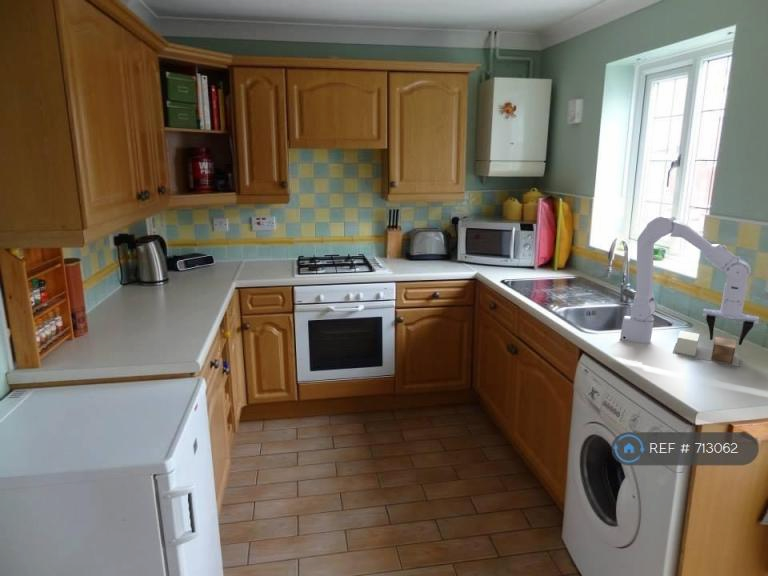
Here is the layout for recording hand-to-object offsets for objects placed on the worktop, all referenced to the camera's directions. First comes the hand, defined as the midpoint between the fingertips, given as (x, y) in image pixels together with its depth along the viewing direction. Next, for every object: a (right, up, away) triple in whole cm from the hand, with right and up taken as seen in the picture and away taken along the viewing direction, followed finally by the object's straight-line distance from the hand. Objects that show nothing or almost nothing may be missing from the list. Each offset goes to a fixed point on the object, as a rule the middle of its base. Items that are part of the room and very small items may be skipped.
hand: (725, 341), depth 167 cm
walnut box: (0, -5, +1) cm, 5 cm away
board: (-4, -6, +4) cm, 8 cm away
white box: (-9, -3, +7) cm, 11 cm away
